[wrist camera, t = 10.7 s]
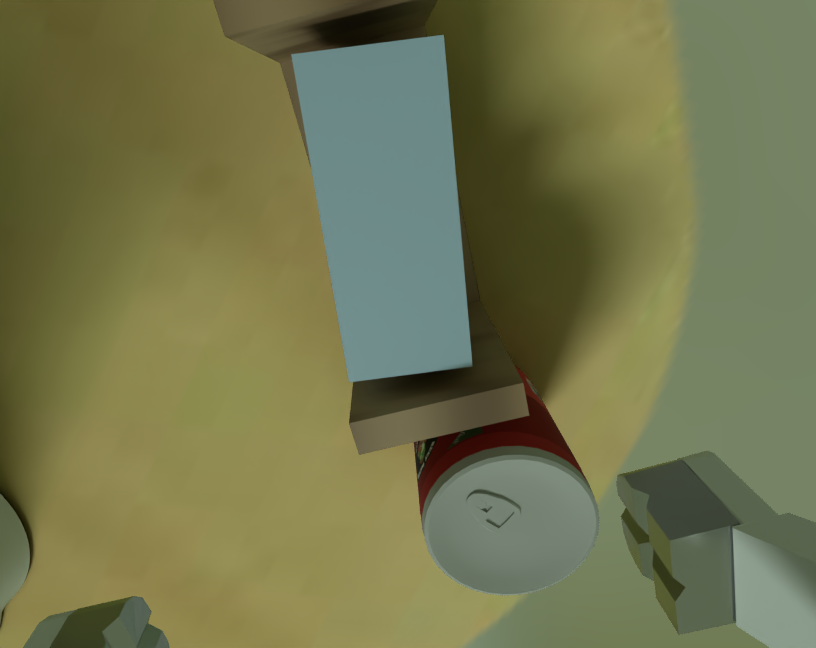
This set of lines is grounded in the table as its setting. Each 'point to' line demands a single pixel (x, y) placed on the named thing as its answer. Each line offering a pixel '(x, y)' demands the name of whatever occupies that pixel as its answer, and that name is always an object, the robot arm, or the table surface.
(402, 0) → the peg stand
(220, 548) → the table surface
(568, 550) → the canned food
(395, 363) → the pale blue block
